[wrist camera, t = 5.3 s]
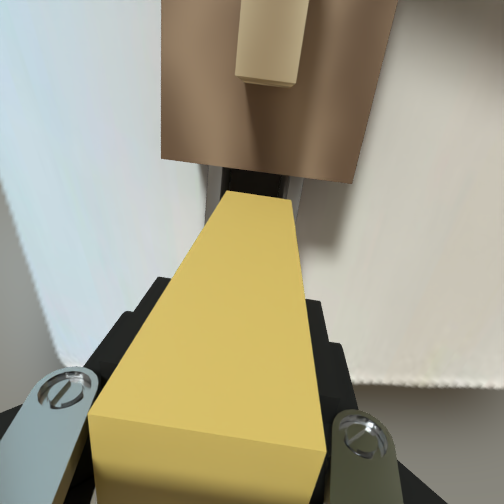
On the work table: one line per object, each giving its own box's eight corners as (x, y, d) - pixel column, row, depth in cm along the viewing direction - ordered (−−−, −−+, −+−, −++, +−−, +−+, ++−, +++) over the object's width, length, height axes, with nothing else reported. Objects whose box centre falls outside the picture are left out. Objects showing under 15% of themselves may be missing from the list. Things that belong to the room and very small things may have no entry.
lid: (444, -233, 17) (582, -502, 9) (329, 245, 28) (349, 297, 21) (175, -269, 17) (97, -566, 9) (168, 224, 28) (131, 267, 21)
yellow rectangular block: (291, 200, 20) (326, 451, 5) (280, 258, 22) (285, 572, 7) (226, 190, 20) (87, 413, 5) (220, 249, 22) (101, 542, 7)
